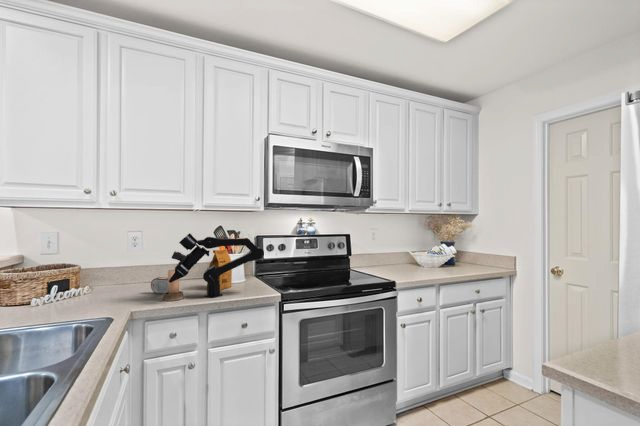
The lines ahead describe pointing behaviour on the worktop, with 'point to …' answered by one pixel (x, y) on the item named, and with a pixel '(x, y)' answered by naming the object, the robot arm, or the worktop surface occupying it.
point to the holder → (173, 296)
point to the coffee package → (219, 260)
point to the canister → (172, 284)
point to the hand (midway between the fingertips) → (170, 280)
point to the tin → (159, 285)
